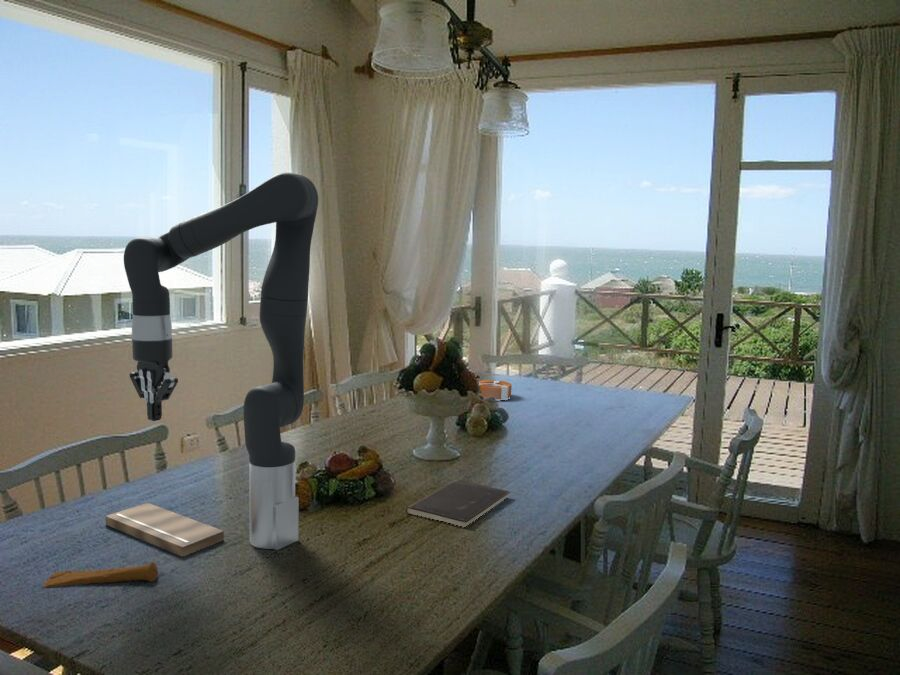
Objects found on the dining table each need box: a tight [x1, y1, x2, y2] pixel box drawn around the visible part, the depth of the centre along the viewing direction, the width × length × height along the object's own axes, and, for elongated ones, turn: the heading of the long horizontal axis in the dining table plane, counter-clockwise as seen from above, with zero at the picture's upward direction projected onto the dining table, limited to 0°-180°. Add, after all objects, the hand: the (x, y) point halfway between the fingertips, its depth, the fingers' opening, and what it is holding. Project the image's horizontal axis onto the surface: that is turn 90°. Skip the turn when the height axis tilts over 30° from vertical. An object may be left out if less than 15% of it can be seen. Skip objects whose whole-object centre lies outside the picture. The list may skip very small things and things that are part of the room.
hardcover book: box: [405, 479, 511, 528], centre depth 174 cm, size 16×23×2 cm
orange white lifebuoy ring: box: [479, 377, 512, 399], centre depth 293 cm, size 7×15×15 cm
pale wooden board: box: [105, 502, 225, 558], centre depth 152 cm, size 26×10×2 cm, turn 57°
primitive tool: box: [41, 561, 159, 588], centre depth 132 cm, size 19×6×4 cm, turn 99°
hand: (154, 419), depth 148 cm, fingers closed
